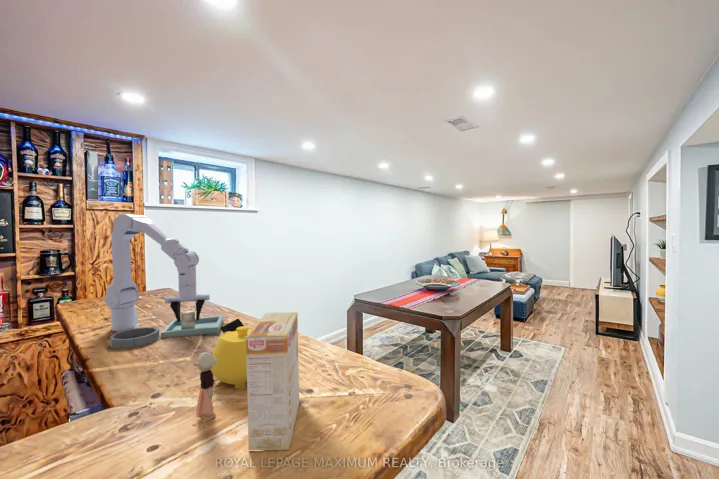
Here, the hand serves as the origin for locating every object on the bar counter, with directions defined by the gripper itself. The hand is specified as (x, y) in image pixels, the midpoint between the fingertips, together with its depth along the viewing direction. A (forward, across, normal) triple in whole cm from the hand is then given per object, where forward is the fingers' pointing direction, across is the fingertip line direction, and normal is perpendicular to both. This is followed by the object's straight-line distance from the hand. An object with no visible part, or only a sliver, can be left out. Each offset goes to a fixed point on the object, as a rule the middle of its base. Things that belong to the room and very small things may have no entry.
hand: (188, 320), depth 115 cm
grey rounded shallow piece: (+4, -14, -9) cm, 17 cm away
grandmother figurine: (+4, +15, -62) cm, 64 cm away
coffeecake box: (+4, +28, -69) cm, 75 cm away
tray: (+4, +2, 0) cm, 4 cm away
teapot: (+4, +22, -48) cm, 53 cm away
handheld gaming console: (+4, +19, -16) cm, 25 cm away
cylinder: (+3, 0, 0) cm, 3 cm away
